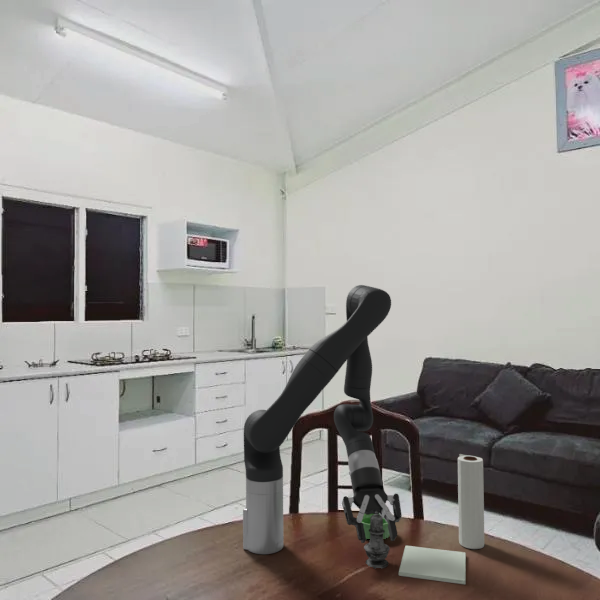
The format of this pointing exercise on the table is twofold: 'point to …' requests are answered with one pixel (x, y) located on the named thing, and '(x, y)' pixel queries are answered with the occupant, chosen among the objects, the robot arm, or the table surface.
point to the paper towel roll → (471, 501)
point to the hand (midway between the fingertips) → (378, 540)
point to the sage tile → (433, 564)
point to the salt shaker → (376, 544)
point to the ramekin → (367, 526)
